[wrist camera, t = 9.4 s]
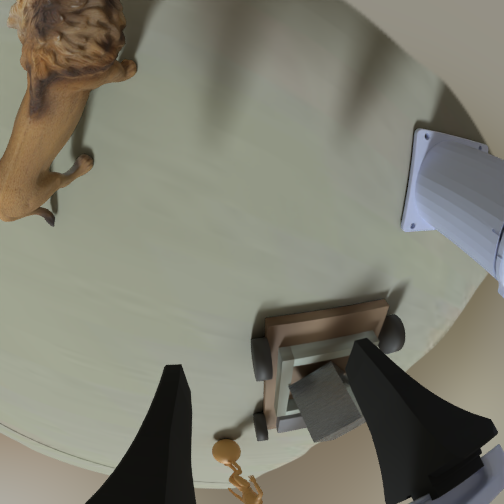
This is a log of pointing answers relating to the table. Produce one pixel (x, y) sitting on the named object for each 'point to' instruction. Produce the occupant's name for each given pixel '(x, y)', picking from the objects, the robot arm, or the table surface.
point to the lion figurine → (56, 93)
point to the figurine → (228, 454)
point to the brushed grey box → (327, 403)
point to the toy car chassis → (313, 353)
